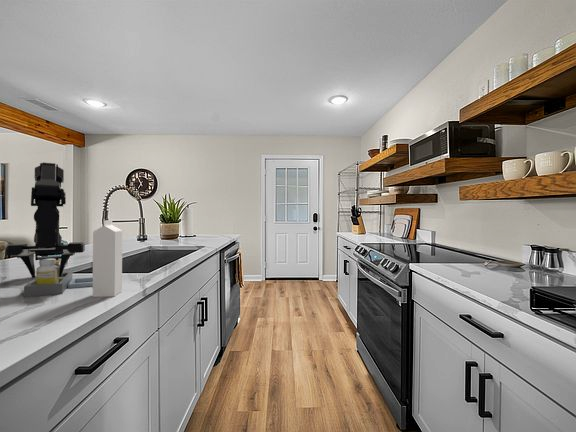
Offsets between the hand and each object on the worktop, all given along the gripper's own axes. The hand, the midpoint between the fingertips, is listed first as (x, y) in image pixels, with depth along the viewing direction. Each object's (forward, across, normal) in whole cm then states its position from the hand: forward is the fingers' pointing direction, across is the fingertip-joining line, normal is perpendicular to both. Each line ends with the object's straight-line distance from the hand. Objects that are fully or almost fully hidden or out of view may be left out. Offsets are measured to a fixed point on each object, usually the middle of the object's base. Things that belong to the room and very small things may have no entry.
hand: (47, 276), depth 97 cm
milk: (+5, -16, +11) cm, 20 cm away
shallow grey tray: (+4, 0, -5) cm, 7 cm away
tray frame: (+4, -10, -7) cm, 13 cm away
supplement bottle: (+5, 0, 0) cm, 5 cm away
